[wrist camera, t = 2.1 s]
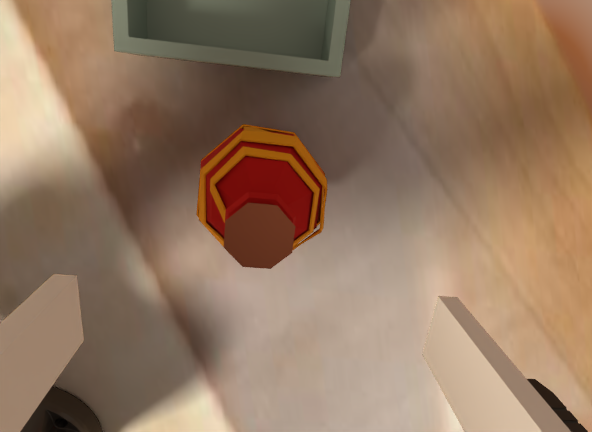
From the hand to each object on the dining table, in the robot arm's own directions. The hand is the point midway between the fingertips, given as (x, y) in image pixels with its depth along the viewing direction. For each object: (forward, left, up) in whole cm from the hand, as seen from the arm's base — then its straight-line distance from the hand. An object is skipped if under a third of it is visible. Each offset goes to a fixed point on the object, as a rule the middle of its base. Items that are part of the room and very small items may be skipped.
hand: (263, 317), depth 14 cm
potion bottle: (0, 0, -23) cm, 23 cm away
